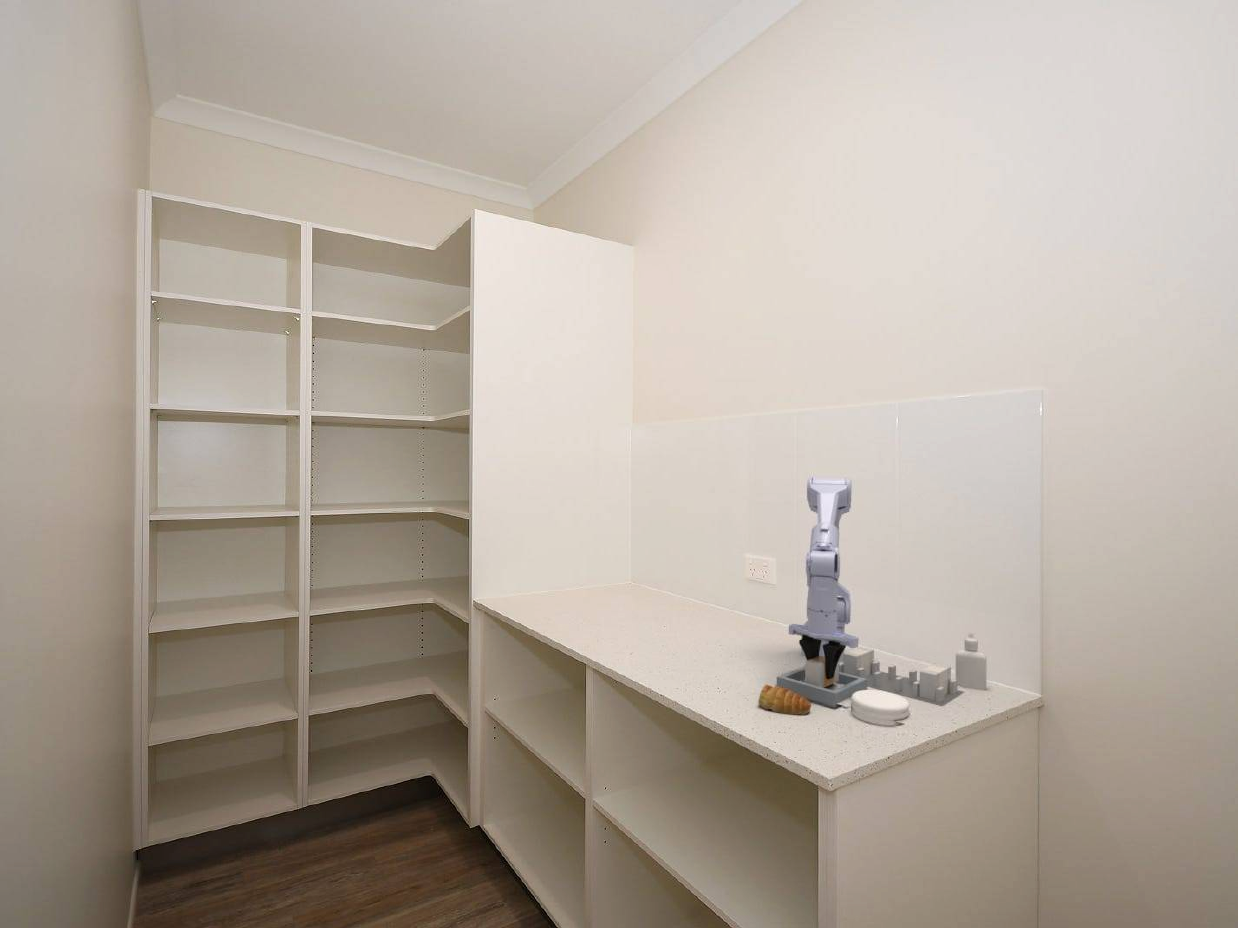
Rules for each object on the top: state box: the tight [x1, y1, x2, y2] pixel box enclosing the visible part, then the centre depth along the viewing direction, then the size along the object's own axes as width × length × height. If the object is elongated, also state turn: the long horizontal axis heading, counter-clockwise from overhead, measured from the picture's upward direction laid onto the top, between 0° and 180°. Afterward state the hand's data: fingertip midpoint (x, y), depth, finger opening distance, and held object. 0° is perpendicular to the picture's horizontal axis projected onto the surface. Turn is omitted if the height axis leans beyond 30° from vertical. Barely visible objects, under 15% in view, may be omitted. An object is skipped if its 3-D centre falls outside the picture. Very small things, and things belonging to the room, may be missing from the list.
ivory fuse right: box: [919, 663, 952, 701], centre depth 127 cm, size 3×8×5 cm, turn 133°
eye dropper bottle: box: [955, 632, 988, 691], centre depth 132 cm, size 4×6×12 cm
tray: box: [776, 666, 868, 710], centre depth 130 cm, size 13×13×3 cm
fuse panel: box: [839, 660, 965, 707], centre depth 133 cm, size 23×12×4 cm, turn 43°
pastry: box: [757, 684, 812, 716], centre depth 121 cm, size 9×7×4 cm
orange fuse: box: [804, 655, 840, 688], centre depth 130 cm, size 3×8×5 cm, turn 133°
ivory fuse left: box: [842, 646, 875, 676], centre depth 139 cm, size 3×8×5 cm, turn 133°
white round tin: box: [850, 689, 911, 727], centre depth 118 cm, size 10×10×4 cm
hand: (821, 675), depth 130 cm, fingers closed on orange fuse, 3 cm apart
